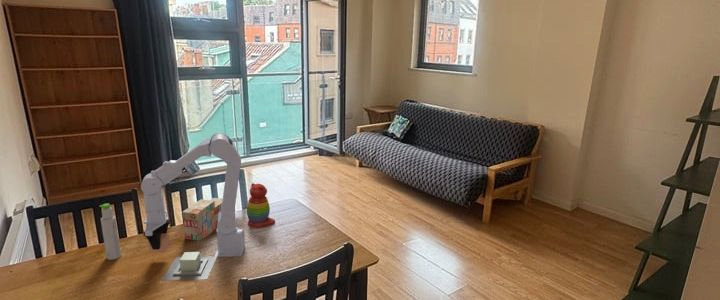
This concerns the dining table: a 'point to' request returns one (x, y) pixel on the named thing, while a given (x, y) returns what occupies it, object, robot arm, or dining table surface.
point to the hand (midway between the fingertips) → (159, 244)
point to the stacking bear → (258, 207)
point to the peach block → (161, 244)
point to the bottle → (110, 233)
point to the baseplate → (200, 274)
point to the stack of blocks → (201, 218)
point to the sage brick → (190, 261)
